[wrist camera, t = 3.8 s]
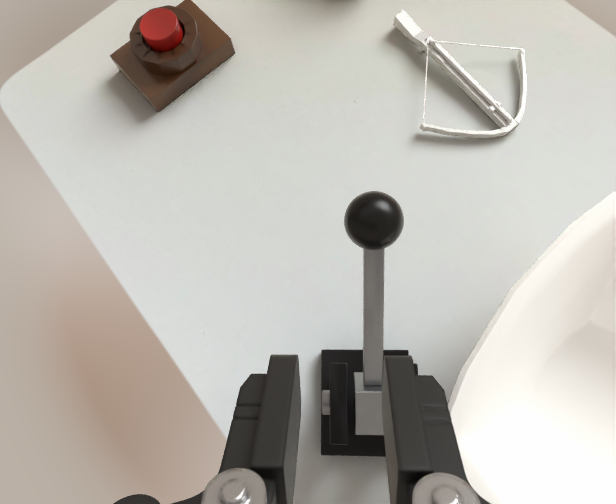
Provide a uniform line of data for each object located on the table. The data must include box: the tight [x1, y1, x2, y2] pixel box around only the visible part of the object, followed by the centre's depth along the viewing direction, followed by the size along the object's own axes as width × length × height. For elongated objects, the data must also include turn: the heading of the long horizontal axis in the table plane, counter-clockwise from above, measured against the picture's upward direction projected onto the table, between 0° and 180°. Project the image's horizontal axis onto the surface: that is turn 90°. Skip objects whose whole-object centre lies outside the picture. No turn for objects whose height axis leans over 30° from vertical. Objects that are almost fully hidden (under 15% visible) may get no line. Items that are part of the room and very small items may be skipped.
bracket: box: [321, 350, 418, 456], centre depth 34 cm, size 8×7×13 cm
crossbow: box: [393, 10, 527, 138], centre depth 47 cm, size 16×13×2 cm
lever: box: [344, 191, 404, 435], centre depth 28 cm, size 14×3×3 cm, turn 179°
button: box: [140, 8, 183, 52], centre depth 46 cm, size 4×4×2 cm
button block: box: [110, 0, 235, 112], centre depth 49 cm, size 10×7×4 cm
